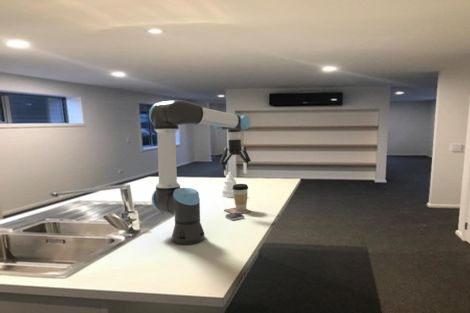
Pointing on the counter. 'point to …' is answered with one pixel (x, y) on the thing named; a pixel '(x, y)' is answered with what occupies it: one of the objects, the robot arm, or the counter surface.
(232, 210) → the board
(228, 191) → the white tiered cone
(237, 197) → the coffee cup
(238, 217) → the ink pad
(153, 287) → the counter surface
